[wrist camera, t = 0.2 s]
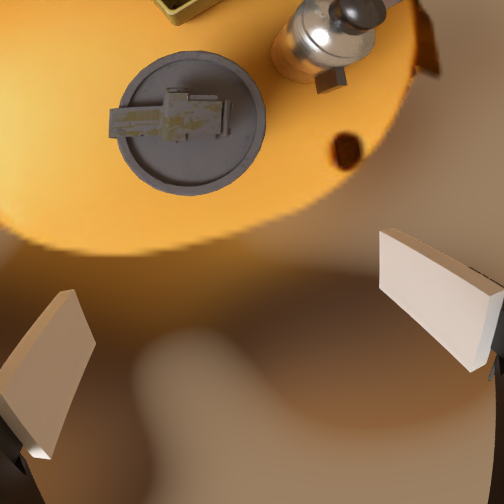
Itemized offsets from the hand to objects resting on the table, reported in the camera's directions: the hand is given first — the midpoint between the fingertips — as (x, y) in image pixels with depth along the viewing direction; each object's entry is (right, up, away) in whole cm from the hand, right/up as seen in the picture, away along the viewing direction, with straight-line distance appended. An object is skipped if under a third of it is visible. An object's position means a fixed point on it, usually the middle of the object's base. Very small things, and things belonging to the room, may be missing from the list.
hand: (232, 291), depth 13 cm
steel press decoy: (+7, +26, +22) cm, 35 cm away
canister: (-6, +16, +24) cm, 29 cm away
